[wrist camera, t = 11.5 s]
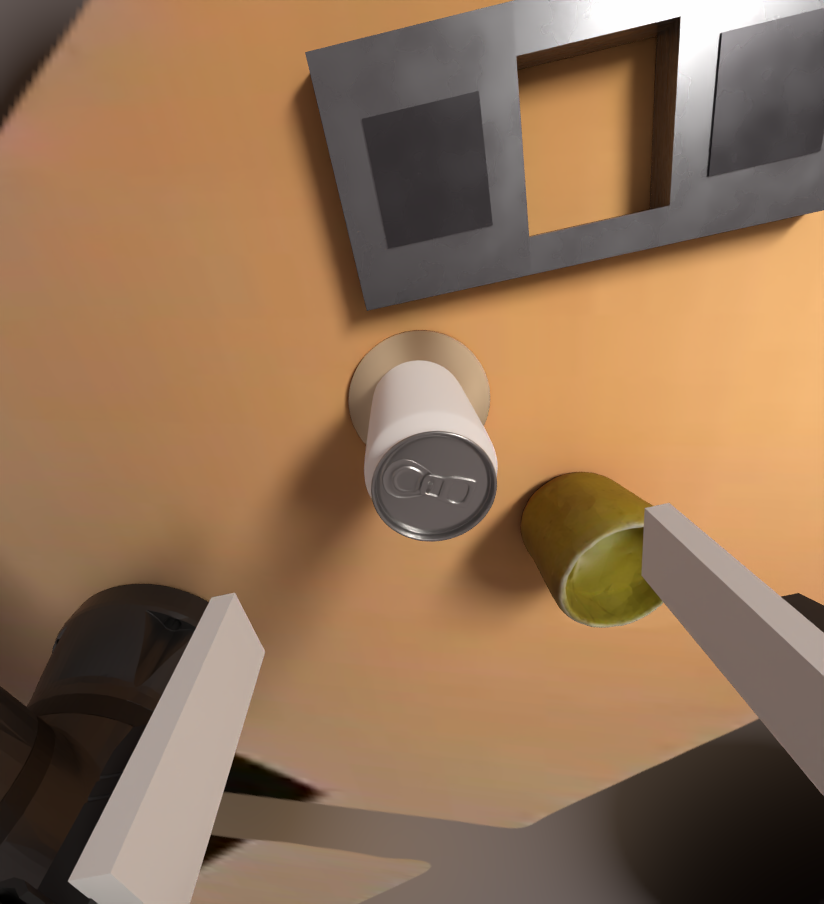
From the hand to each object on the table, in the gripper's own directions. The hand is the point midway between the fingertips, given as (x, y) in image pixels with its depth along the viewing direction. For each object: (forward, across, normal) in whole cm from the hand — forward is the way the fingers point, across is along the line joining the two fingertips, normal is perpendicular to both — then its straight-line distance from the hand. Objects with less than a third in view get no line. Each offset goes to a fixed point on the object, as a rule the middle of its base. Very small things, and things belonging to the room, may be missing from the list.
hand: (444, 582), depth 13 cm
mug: (+18, +13, -13) cm, 26 cm away
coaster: (+18, +1, 0) cm, 18 cm away
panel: (+18, +13, +13) cm, 25 cm away
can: (+18, +1, 0) cm, 18 cm away
